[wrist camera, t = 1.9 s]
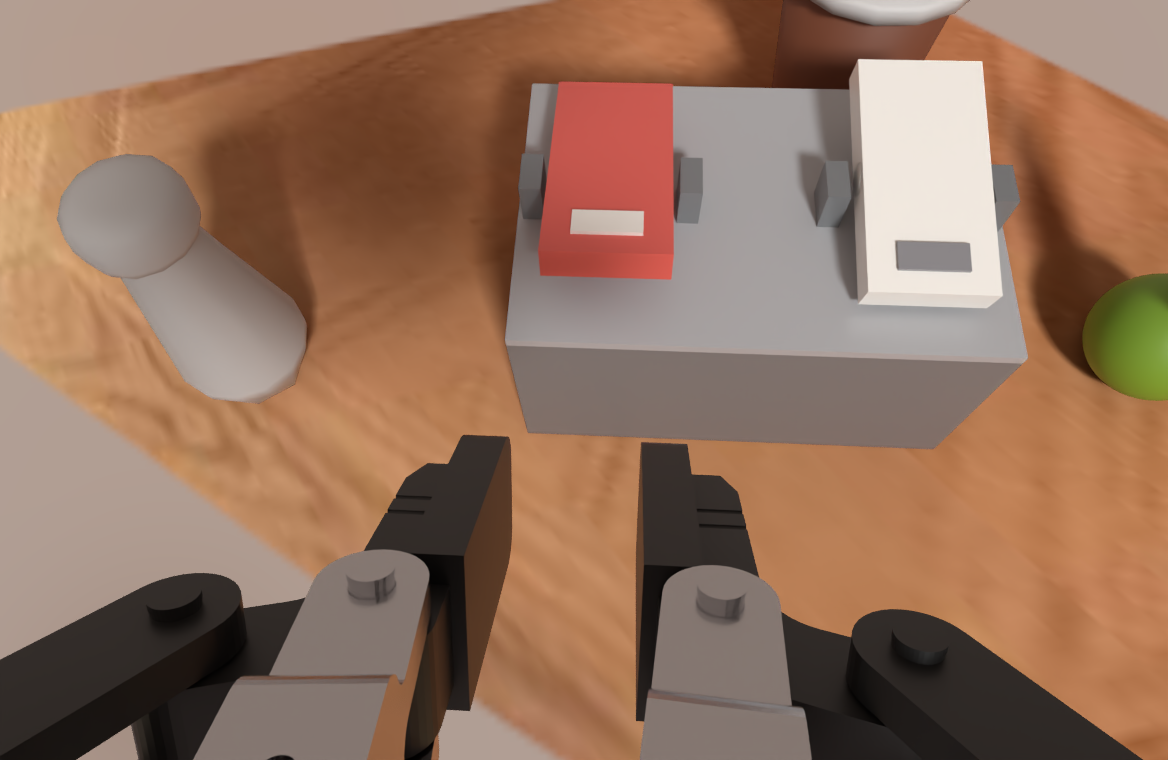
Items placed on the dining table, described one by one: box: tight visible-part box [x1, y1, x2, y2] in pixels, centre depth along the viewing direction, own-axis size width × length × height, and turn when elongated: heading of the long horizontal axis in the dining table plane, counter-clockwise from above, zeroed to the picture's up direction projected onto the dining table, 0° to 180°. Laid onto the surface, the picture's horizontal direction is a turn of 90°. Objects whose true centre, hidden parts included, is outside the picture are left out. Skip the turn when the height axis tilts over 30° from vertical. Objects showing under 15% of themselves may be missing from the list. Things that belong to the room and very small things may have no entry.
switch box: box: [505, 84, 1028, 449], centre depth 34 cm, size 18×12×11 cm, turn 87°
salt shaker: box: [57, 154, 307, 404], centre depth 33 cm, size 6×6×13 cm
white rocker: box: [849, 59, 1003, 308], centre depth 29 cm, size 4×9×1 cm, turn 177°
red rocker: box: [538, 82, 674, 280], centre depth 29 cm, size 4×9×1 cm, turn 177°
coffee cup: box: [772, 0, 970, 90], centre depth 39 cm, size 9×9×12 cm
